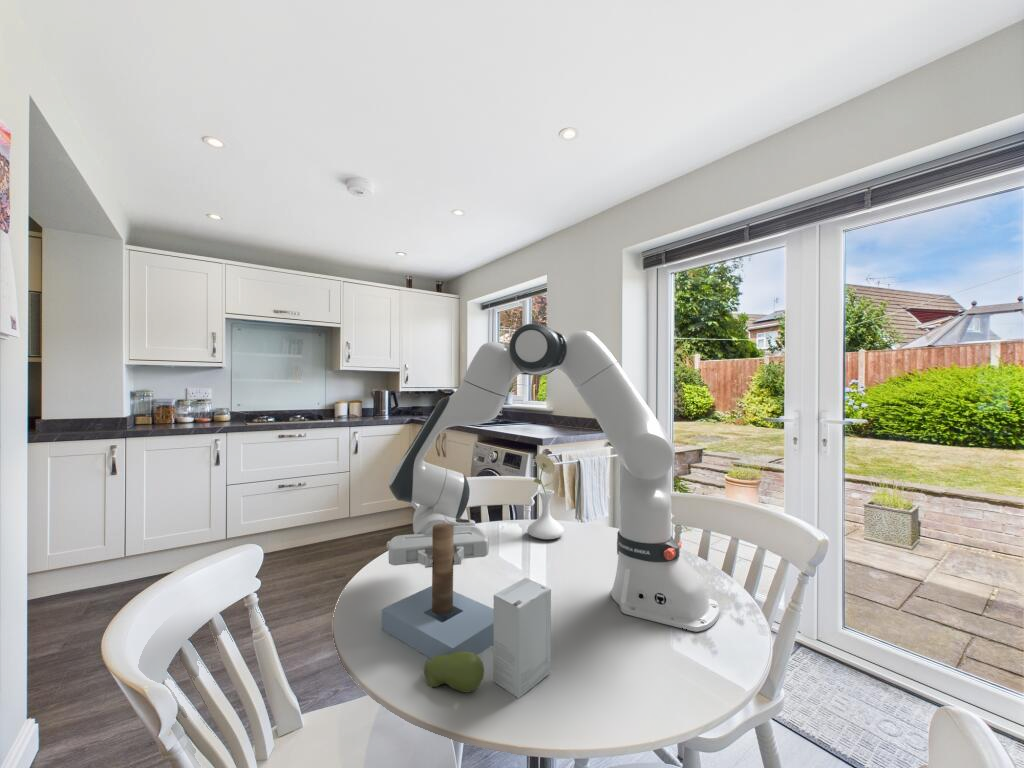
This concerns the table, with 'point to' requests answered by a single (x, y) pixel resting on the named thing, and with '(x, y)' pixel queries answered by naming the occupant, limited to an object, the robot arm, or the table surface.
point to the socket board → (440, 624)
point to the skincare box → (522, 636)
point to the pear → (455, 671)
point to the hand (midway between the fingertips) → (443, 562)
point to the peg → (442, 568)
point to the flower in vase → (545, 505)
